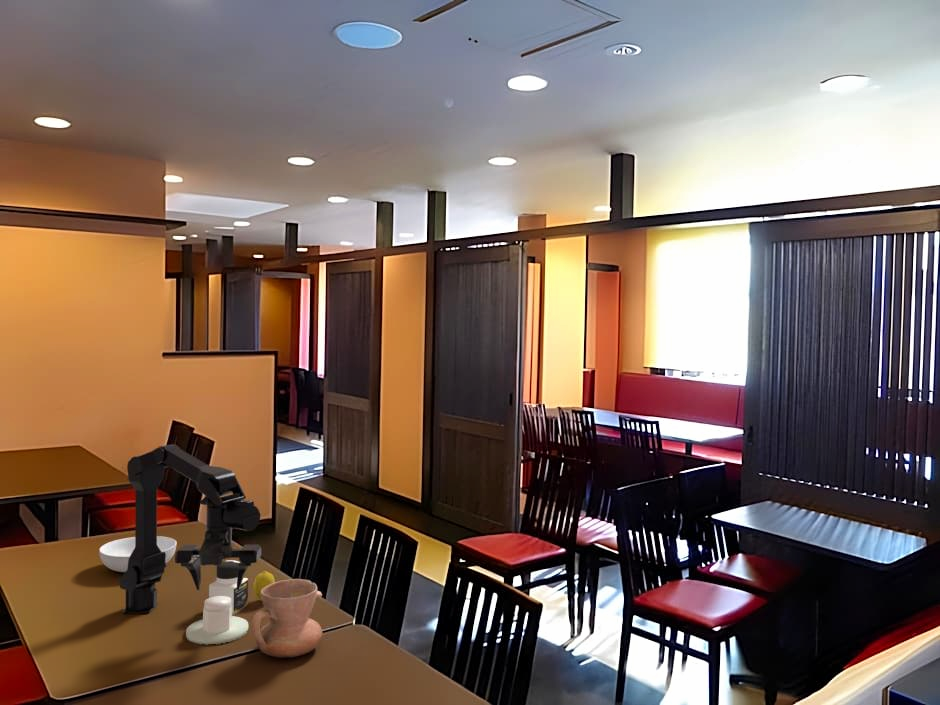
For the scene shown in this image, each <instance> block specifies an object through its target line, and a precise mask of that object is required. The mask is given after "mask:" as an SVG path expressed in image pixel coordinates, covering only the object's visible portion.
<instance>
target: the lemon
mask: <svg viewBox="0 0 940 705" xmlns="http://www.w3.org/2000/svg"><path fill="white" fill-rule="evenodd" d="M275 582H276V580H275V577H274V575H273V574H272V573H270V572H268V571H266V570H263V571H262V572H260V573H259V574H258V575H256V577H255V578H254V582H253V593H254V595H255V597H257V598H258V599H260V600H262V597H261V590H262V589H263V588H264V587H266V586H268V585H270V584H272V583H275Z"/></svg>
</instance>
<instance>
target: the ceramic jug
mask: <svg viewBox="0 0 940 705" xmlns="http://www.w3.org/2000/svg"><path fill="white" fill-rule="evenodd" d="M292 593H300V594H301V595H299V596H295V597H293V596H292ZM322 596H323V594H322V591H319V590H318V586H317V584H316V583H315V582H312V581H311V580H309V579H302V578H292V579H290V578H289V579H283V580H279V581H275V583H272V584H270V585H268V586H266V587H264V588H263V589H262V590H261V597H262V599H261V601H262V604H263V607H264V609H262V610H259V611H257V612H256V613H255V614H254V615H253V617H252V623H251V625H252V632H253V635H254V636H255V638H256V639H255V642H256V645H257V648H258V650H260V651H261V652H262V653H263V654H265V655H267V656H271V657H275V658H280V659H281V658H282V659H283V658H286V659H287V658H294V657H295V658H296V657H299V656H302V655H305V654H307V653H310V652H311V651H313V650H314V649H315V648H316V647H317V646H318V645H319V644H320V642H321V641H322V638H323V628H322V627H321V625H320V624H319V622H317V620H314V619H313V618H310V615H311V613H312V610H313V607H314V605H315V602H316V598H321V597H322ZM263 618H268V619H269V620H270V621H269V622H268V623H267V624H265V625H264V626H263V627H261V623H262V619H263Z"/></svg>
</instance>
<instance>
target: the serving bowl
mask: <svg viewBox="0 0 940 705" xmlns="http://www.w3.org/2000/svg"><path fill="white" fill-rule="evenodd" d="M177 544H178V542H177V540H176V539H174V538H171V537H167V536H161V535H160V536H158V535H157V546H158V547H159V549H160V550H161V552H165V554H166V558H165V563H166V564H167V563H168V562H169V561H170V560H171V559H172V558H173V557H174V556H175V553H176V551H177V550H176V549H177ZM134 548H135V536H132V537H126V538H120V539H115V540H112V541H109V542H107V543H105V544H103V545H102V546H101V547H99V558H100V560H101V562H102V563H103V565H104V566H105V567H107V568H108V569H109V570H112V571H115V572H118V573H119V572H120V573H125V572H126V571H127V568H128V560H129V557H130V556H131V554H132V552H133V550H134Z"/></svg>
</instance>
